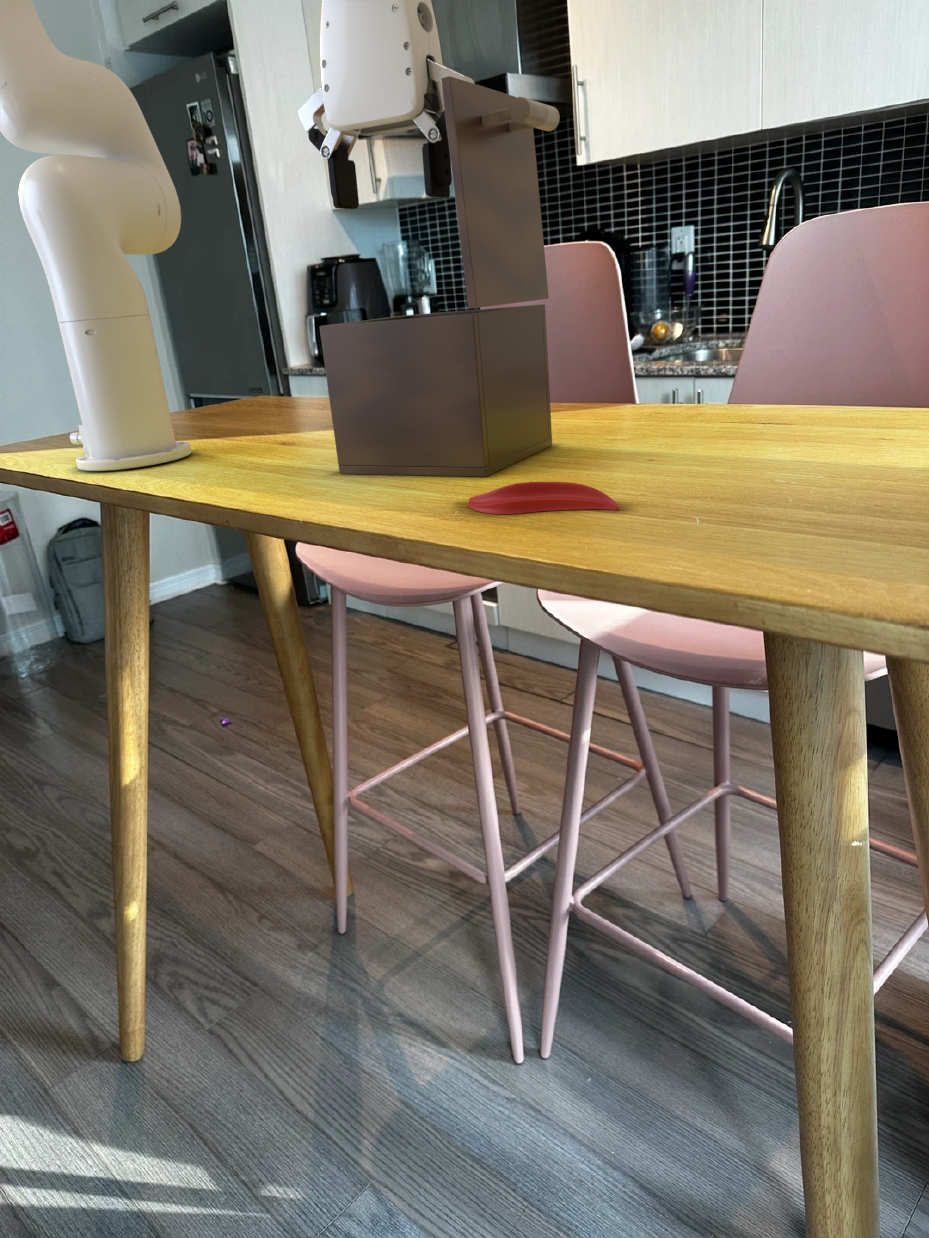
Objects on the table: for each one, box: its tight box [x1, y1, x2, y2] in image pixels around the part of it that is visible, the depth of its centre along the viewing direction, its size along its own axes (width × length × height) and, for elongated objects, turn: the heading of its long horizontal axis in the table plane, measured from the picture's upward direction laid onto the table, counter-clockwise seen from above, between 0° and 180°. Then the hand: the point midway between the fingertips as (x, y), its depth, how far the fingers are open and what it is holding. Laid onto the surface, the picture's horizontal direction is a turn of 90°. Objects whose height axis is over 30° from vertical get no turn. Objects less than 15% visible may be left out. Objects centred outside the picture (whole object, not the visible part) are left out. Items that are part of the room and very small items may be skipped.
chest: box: [319, 303, 553, 478], centre depth 83 cm, size 16×15×13 cm
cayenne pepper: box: [467, 481, 620, 515], centre depth 63 cm, size 12×5×2 cm, turn 56°
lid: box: [441, 76, 561, 310], centre depth 73 cm, size 16×15×5 cm
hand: (391, 203), depth 78 cm, fingers open, 9 cm apart
